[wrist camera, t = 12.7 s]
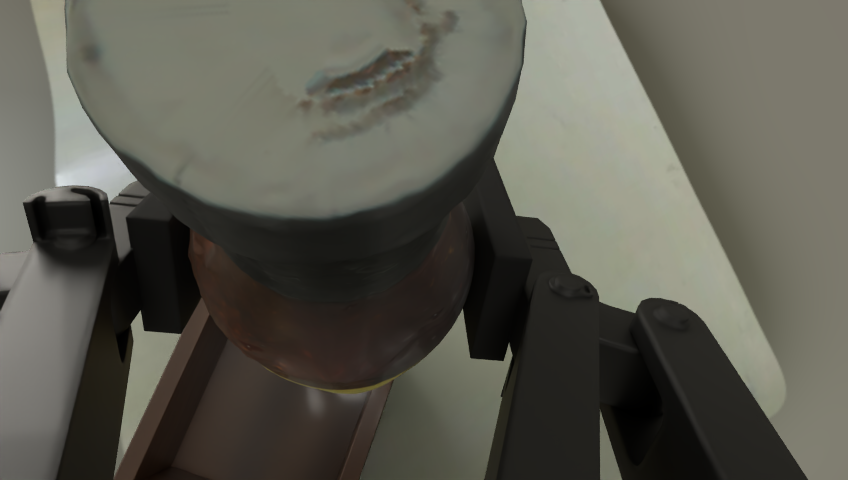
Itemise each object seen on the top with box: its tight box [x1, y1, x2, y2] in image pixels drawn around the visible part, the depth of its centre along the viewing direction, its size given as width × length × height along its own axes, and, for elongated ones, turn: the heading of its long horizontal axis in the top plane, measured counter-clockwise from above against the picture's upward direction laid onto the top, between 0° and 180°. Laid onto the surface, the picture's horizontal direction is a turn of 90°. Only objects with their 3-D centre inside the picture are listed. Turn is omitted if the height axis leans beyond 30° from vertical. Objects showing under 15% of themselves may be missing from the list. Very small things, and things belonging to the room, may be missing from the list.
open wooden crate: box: [113, 298, 394, 480], centre depth 32 cm, size 12×12×7 cm
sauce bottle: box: [65, 0, 527, 394], centre depth 14 cm, size 6×6×20 cm
